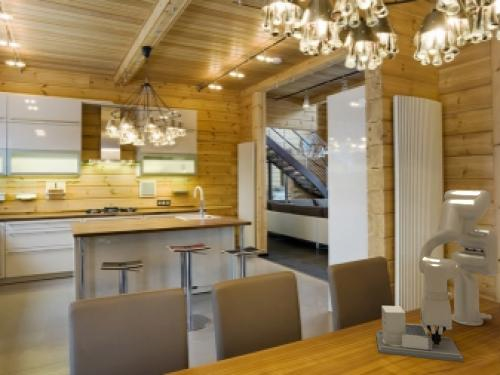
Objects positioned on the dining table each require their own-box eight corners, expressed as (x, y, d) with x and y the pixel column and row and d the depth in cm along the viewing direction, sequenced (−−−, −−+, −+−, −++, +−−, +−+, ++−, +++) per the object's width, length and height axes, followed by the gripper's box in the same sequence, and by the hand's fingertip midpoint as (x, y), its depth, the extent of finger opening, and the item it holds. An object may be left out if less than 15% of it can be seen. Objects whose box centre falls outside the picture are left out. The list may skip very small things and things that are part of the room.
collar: (425, 337, 143) (425, 324, 142) (431, 351, 131) (431, 338, 131) (398, 334, 145) (397, 322, 145) (402, 348, 133) (401, 335, 133)
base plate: (451, 342, 142) (451, 337, 142) (463, 362, 126) (463, 356, 126) (376, 334, 149) (376, 330, 149) (378, 352, 134) (378, 347, 134)
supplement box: (400, 337, 143) (400, 305, 143) (406, 345, 136) (405, 312, 136) (381, 336, 144) (381, 305, 144) (385, 344, 137) (385, 311, 137)
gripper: (455, 293, 137) (455, 341, 137) (412, 290, 141) (412, 337, 141) (461, 299, 130) (461, 350, 130) (416, 296, 134) (416, 345, 134)
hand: (436, 343), depth 136 cm, fingers closed
